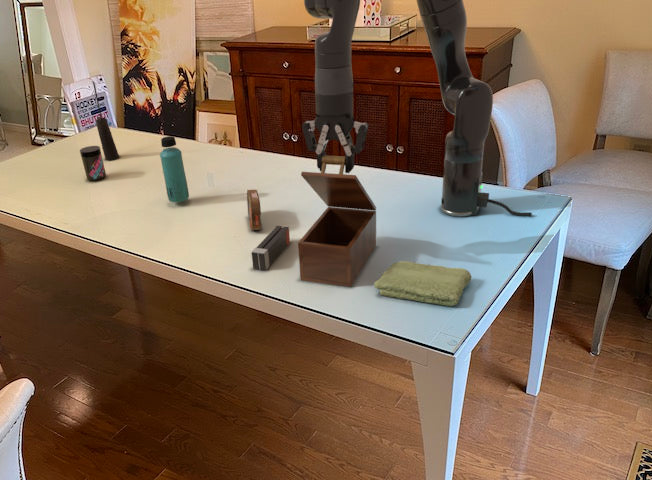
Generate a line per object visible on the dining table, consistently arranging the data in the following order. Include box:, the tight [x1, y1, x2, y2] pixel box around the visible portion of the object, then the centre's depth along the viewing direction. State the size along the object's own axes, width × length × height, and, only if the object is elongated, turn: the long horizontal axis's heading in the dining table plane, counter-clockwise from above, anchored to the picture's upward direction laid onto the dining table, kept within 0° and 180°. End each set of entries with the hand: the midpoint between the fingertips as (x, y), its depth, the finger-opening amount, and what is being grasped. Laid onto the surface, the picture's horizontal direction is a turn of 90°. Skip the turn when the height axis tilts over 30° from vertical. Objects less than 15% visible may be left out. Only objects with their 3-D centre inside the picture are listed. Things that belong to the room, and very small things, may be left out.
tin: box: [246, 189, 262, 231], centre depth 166 cm, size 15×3×8 cm, turn 5°
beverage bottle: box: [159, 135, 190, 203], centre depth 181 cm, size 6×7×20 cm
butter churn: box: [92, 81, 120, 162], centre depth 224 cm, size 9×10×28 cm
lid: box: [300, 155, 377, 212], centre depth 138 cm, size 21×12×5 cm
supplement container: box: [79, 145, 107, 183], centre depth 210 cm, size 7×7×10 cm
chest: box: [297, 206, 377, 288], centre depth 142 cm, size 20×12×9 cm, turn 155°
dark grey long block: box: [251, 225, 291, 272], centre depth 150 cm, size 15×3×5 cm, turn 155°
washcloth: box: [373, 260, 473, 307], centre depth 131 cm, size 13×18×3 cm
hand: (335, 170), depth 133 cm, fingers closed on lid, 5 cm apart
